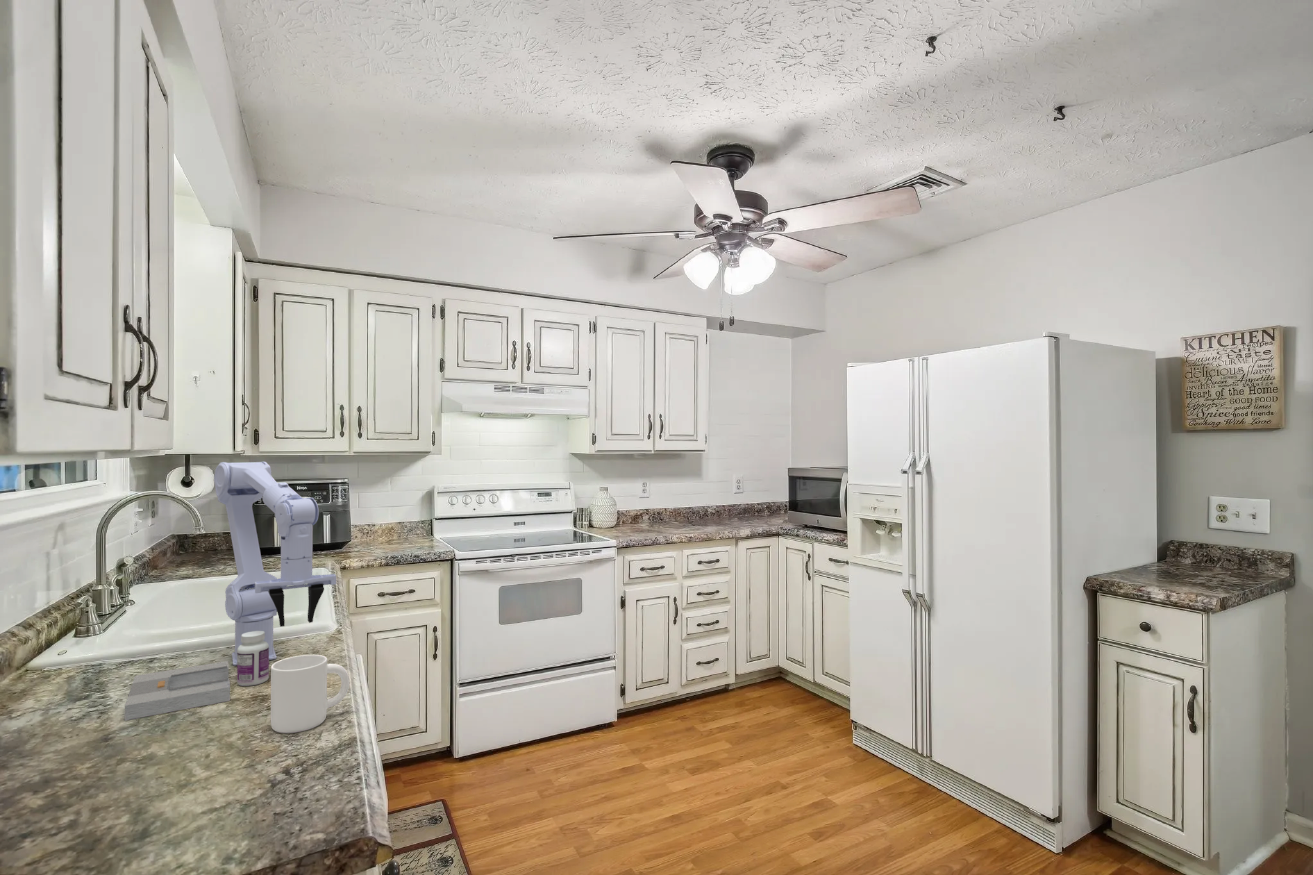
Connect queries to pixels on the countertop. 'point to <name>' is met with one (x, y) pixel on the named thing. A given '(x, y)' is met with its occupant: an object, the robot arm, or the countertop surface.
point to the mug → (303, 692)
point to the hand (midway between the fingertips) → (296, 623)
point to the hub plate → (178, 690)
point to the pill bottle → (252, 659)
